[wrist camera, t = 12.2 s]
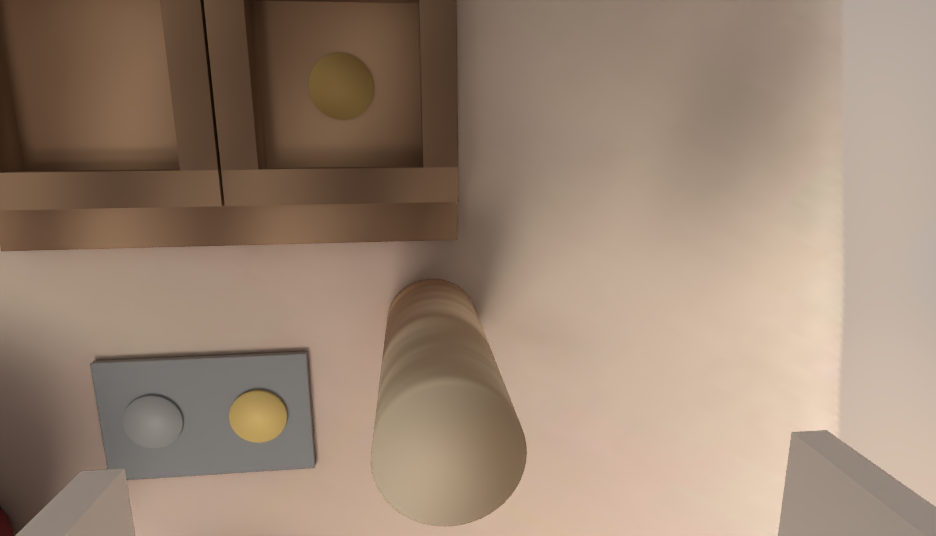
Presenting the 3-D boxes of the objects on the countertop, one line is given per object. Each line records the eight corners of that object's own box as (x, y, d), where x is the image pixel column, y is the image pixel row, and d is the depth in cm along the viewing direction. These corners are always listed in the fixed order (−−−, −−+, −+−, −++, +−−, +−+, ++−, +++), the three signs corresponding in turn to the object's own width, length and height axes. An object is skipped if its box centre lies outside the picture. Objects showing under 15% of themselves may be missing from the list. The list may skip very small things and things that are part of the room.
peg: (388, 365, 23) (374, 531, 13) (385, 280, 22) (367, 389, 12) (476, 362, 23) (525, 520, 14) (476, 277, 22) (527, 381, 13)
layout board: (16, 246, 20) (-25, 258, 18) (-47, -92, 18) (-103, -120, 16) (455, 236, 22) (460, 245, 20) (451, -76, 20) (456, -100, 18)
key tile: (113, 476, 23) (106, 484, 22) (94, 360, 22) (86, 365, 21) (315, 463, 23) (313, 470, 23) (307, 351, 22) (304, 355, 22)
